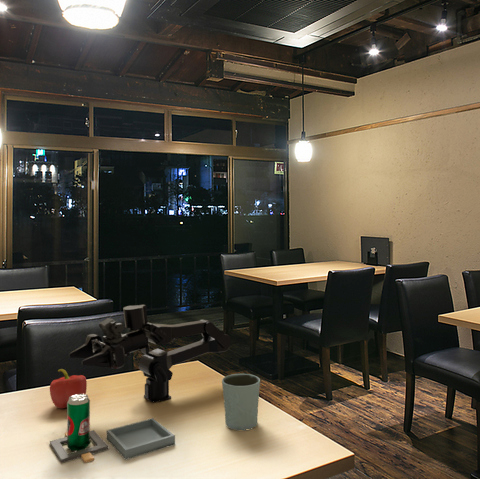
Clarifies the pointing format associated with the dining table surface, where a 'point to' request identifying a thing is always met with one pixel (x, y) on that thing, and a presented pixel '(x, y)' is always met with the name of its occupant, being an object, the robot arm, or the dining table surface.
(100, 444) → the grey rectangular frame
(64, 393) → the vegetable
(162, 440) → the parts tray
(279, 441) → the dining table surface
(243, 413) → the grey-green cup
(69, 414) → the soda can
